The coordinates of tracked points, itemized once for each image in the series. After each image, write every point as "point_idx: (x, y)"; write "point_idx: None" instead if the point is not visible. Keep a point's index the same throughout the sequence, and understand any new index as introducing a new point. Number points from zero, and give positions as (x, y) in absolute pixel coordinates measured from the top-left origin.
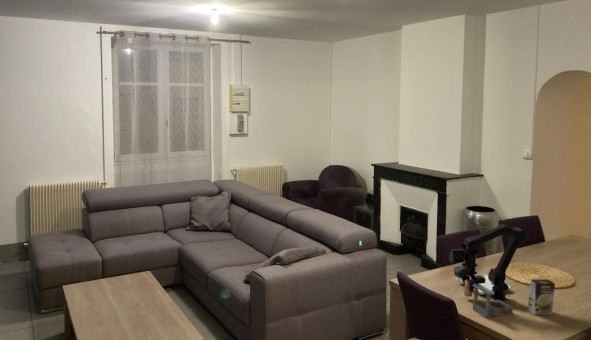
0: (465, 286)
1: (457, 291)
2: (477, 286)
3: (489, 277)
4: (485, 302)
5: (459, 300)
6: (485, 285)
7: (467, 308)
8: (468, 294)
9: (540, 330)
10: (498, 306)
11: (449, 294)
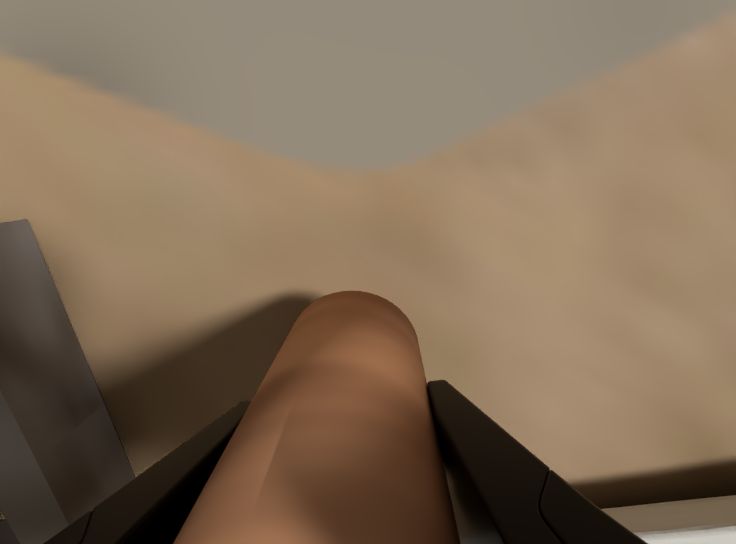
0: (304, 398)
1: (651, 313)
2: None
3: None
4: (10, 443)
5: (341, 181)
6: None
7: (56, 159)
8: (283, 343)
9: None
10: None
11: (596, 129)
